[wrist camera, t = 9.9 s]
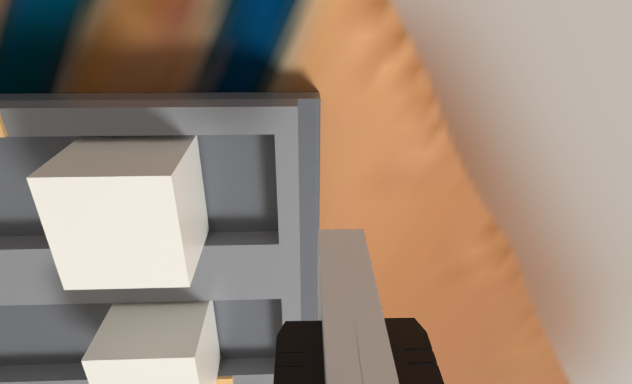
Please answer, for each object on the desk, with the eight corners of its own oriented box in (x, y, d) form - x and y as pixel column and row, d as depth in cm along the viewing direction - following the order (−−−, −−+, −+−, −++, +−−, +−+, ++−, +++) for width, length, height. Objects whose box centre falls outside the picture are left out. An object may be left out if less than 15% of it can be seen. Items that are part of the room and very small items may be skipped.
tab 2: (135, 360, 25) (105, 432, 21) (117, 294, 23) (80, 360, 19) (220, 358, 25) (207, 428, 22) (211, 292, 23) (194, 357, 19)
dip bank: (-35, 364, 27) (-66, 402, 24) (-178, 94, 19) (-243, 111, 17) (317, 354, 28) (318, 389, 25) (319, 91, 20) (322, 107, 18)
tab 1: (107, 231, 21) (64, 289, 17) (82, 135, 19) (26, 177, 15) (209, 229, 21) (189, 287, 17) (196, 134, 19) (171, 175, 15)
